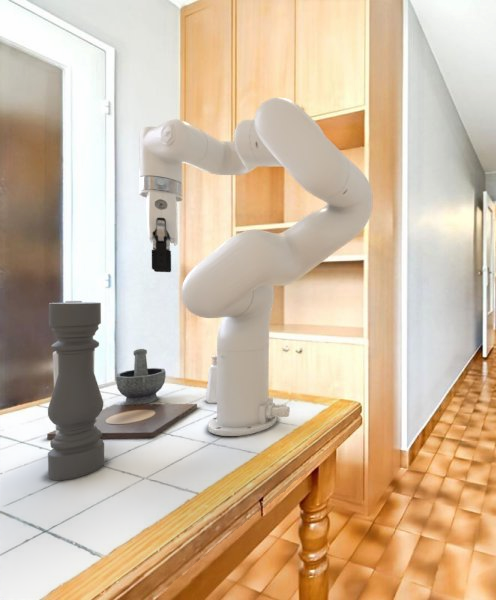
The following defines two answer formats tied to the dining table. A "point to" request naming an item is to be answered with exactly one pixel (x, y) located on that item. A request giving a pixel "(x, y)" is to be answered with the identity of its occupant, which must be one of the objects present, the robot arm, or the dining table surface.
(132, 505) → the dining table surface
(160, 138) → the robot arm
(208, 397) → the pepper shaker
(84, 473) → the candle holder
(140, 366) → the mortar and pestle
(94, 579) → the dining table surface
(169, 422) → the board
